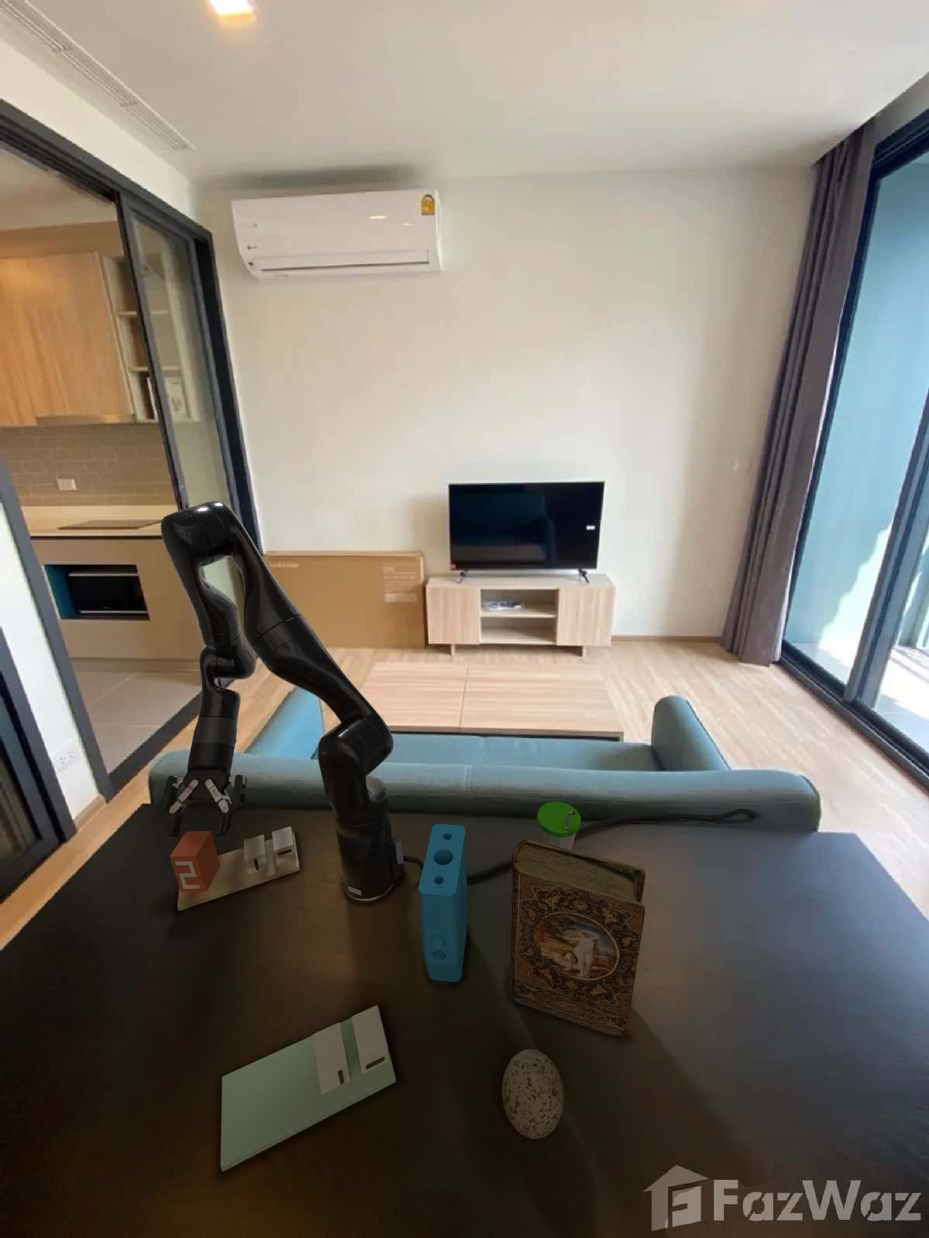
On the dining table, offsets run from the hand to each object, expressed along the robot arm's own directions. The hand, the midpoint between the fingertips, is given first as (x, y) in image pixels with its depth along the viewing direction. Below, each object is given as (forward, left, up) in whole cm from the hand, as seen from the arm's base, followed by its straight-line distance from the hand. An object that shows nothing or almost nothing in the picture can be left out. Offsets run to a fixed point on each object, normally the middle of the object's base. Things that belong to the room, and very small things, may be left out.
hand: (197, 836), depth 89 cm
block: (-35, +32, -9) cm, 48 cm away
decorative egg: (-37, +54, -9) cm, 66 cm away
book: (-48, +45, -9) cm, 67 cm away
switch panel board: (-13, +40, -9) cm, 43 cm away
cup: (-60, +24, -9) cm, 65 cm away
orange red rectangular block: (+1, +2, -8) cm, 8 cm away
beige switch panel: (-6, +2, -9) cm, 11 cm away
